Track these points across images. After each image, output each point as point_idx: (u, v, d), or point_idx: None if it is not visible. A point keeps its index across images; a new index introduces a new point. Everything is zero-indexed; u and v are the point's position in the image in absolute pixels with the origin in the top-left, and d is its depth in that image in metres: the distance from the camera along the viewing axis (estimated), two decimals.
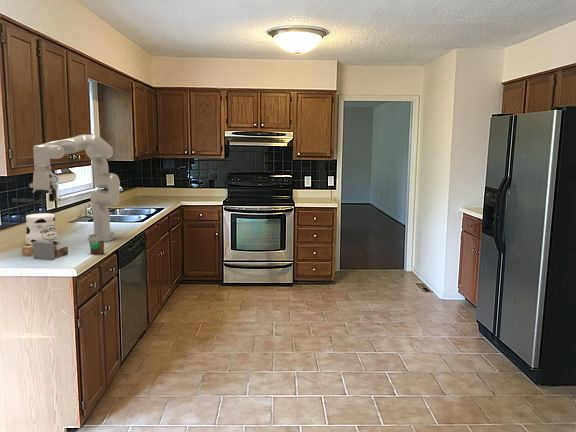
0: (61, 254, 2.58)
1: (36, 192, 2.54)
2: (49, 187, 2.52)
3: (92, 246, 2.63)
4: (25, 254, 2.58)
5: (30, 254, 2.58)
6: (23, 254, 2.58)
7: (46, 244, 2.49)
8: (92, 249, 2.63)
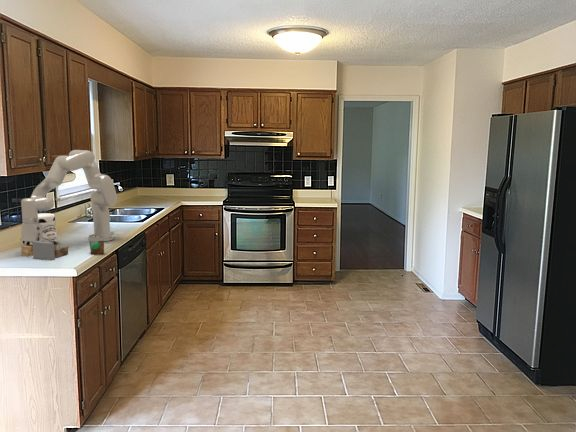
0: (61, 254, 2.58)
1: None
2: None
3: (92, 246, 2.63)
4: (25, 254, 2.58)
5: (29, 254, 2.58)
6: (22, 254, 2.58)
7: (46, 244, 2.49)
8: (92, 249, 2.63)
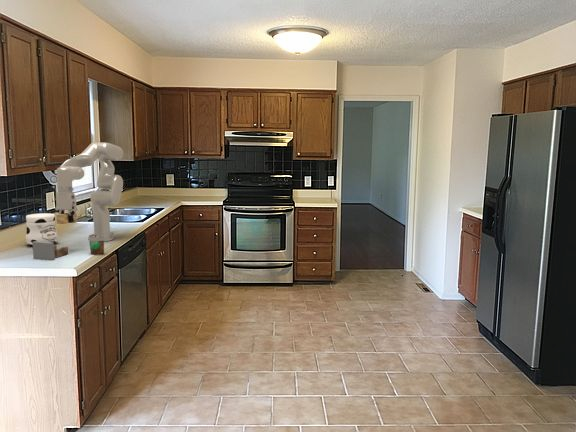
0: (61, 254, 2.58)
1: (62, 213, 2.67)
2: None
3: (92, 246, 2.63)
4: (60, 222, 2.62)
5: (64, 222, 2.63)
6: (58, 222, 2.63)
7: (46, 244, 2.49)
8: (92, 249, 2.63)
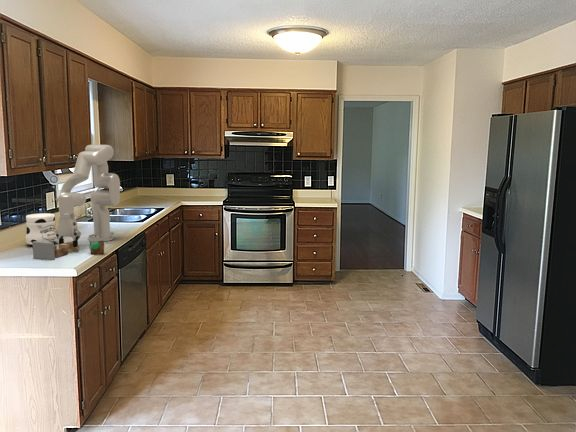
0: (61, 254, 2.58)
1: (61, 238, 2.70)
2: (73, 234, 2.68)
3: (92, 246, 2.63)
4: None
5: None
6: None
7: (46, 244, 2.49)
8: (92, 249, 2.63)
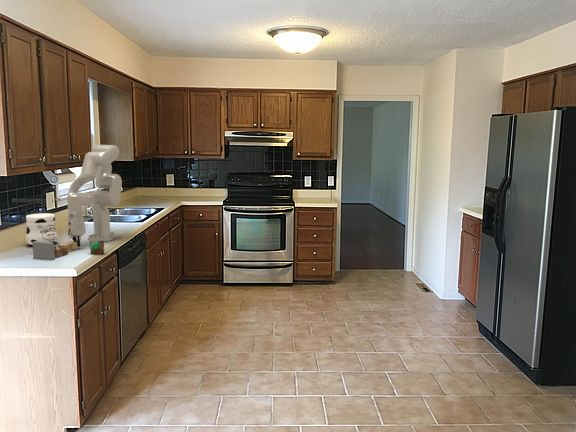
0: (61, 254, 2.58)
1: None
2: None
3: (92, 246, 2.63)
4: None
5: None
6: None
7: (46, 244, 2.49)
8: (92, 249, 2.63)
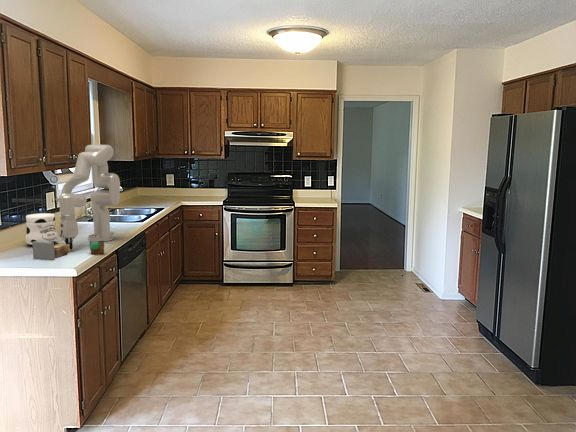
0: (61, 254, 2.58)
1: None
2: None
3: (92, 246, 2.63)
4: None
5: None
6: None
7: (46, 244, 2.49)
8: (92, 249, 2.63)
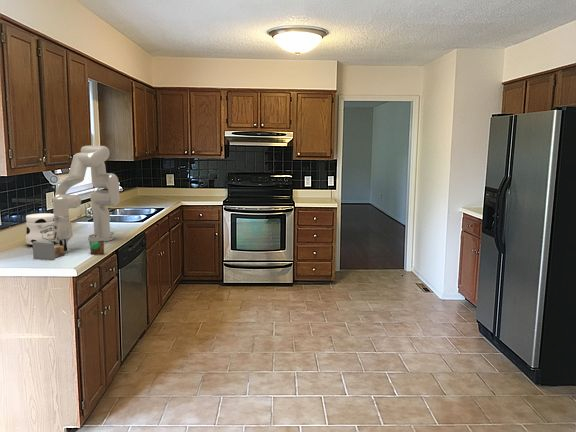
0: (57, 255, 2.56)
1: None
2: None
3: (92, 246, 2.63)
4: None
5: None
6: None
7: (46, 244, 2.49)
8: (92, 249, 2.63)
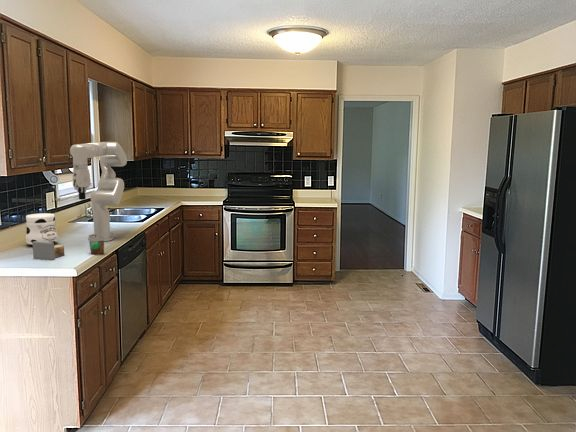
0: (57, 255, 2.56)
1: None
2: None
3: (92, 246, 2.63)
4: None
5: None
6: None
7: (46, 244, 2.49)
8: (92, 249, 2.63)
